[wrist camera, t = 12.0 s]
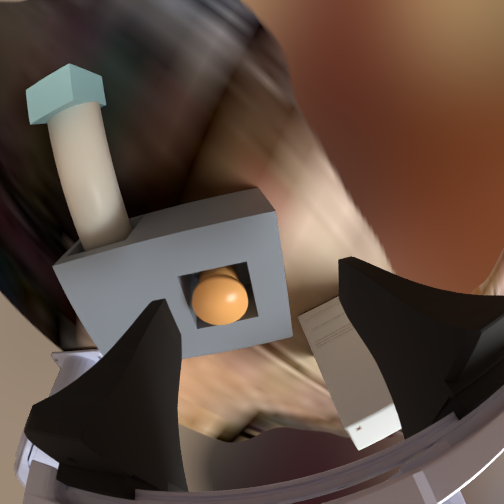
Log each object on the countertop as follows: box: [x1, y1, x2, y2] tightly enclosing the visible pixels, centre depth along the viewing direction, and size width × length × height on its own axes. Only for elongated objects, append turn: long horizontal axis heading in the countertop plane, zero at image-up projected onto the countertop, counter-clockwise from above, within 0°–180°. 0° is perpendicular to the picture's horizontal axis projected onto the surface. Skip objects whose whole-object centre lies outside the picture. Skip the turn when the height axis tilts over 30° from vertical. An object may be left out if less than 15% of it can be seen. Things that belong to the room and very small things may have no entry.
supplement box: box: [298, 296, 402, 450], centre depth 21 cm, size 7×7×13 cm
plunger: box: [192, 264, 248, 325], centre depth 17 cm, size 3×3×4 cm
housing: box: [52, 188, 293, 359], centre depth 18 cm, size 9×14×6 cm, turn 100°
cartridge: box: [26, 64, 133, 251], centre depth 14 cm, size 12×4×5 cm, turn 10°
